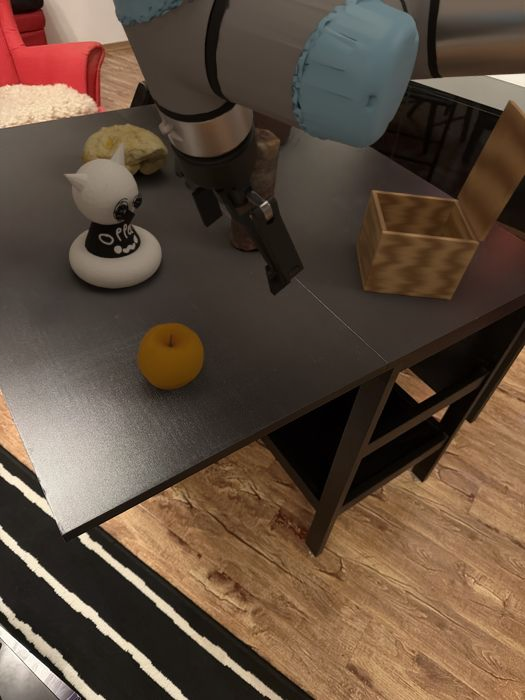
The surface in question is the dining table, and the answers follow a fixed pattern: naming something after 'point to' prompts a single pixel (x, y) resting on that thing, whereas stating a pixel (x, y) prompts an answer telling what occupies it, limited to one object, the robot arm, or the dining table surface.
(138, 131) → the beige rounded lump
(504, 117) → the lid
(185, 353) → the apple
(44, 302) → the dining table surface
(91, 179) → the decorative figurine
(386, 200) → the chest
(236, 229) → the brown upright cylinder
